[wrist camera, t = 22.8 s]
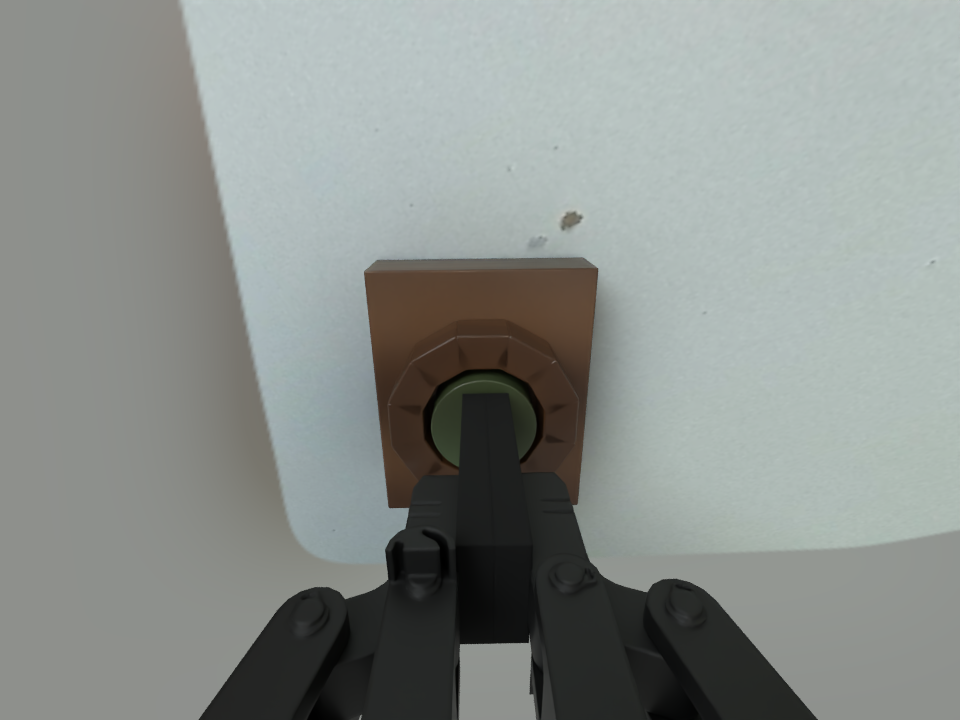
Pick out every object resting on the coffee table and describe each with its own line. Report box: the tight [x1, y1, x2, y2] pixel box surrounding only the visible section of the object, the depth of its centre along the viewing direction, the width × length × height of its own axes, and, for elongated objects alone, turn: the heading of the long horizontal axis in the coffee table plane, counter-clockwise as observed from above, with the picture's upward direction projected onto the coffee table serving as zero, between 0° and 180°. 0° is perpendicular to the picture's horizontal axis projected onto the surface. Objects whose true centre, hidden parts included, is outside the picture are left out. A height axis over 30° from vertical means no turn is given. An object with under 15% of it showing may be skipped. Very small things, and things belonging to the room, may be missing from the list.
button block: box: [364, 258, 598, 508], centre depth 18 cm, size 10×8×4 cm
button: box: [431, 369, 537, 467], centre depth 16 cm, size 4×4×2 cm
